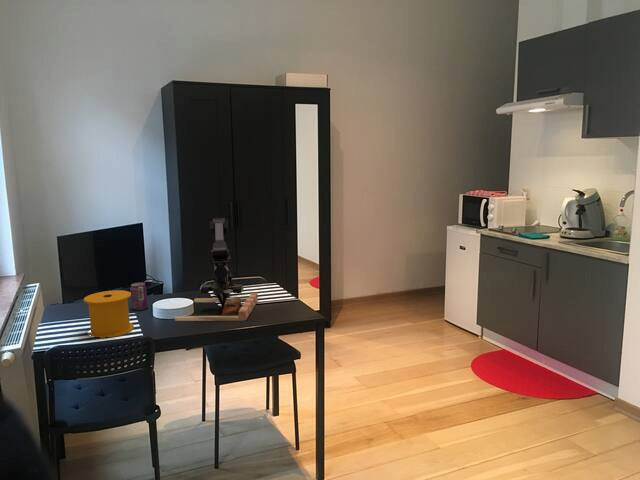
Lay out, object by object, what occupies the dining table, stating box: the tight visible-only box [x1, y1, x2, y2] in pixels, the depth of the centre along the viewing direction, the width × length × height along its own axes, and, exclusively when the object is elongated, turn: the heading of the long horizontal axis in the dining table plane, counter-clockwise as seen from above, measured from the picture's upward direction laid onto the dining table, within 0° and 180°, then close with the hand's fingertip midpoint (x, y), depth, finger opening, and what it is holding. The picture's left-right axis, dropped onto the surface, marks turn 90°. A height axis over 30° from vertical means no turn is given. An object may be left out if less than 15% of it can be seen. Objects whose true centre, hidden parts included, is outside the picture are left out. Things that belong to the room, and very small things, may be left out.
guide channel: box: [174, 292, 259, 322], centre depth 240 cm, size 30×31×4 cm
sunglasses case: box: [221, 296, 242, 316], centre depth 241 cm, size 18×7×7 cm, turn 8°
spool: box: [83, 289, 135, 339], centre depth 214 cm, size 18×18×15 cm
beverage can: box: [129, 282, 149, 311], centre depth 244 cm, size 7×7×12 cm
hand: (223, 307), depth 239 cm, fingers closed
